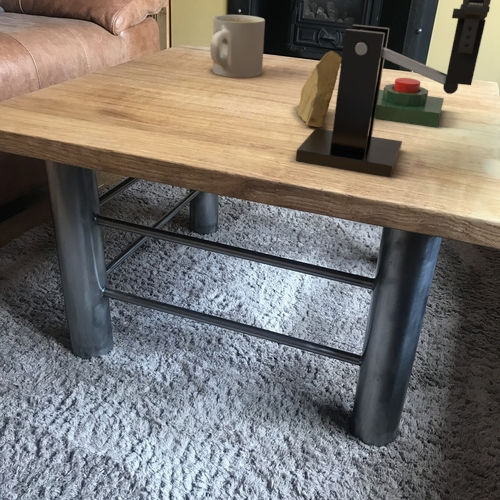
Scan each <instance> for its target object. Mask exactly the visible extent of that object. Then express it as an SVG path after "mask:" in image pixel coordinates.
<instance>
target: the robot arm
mask: <svg viewBox="0 0 500 500" xmlns="http://www.w3.org/2000/svg"><path fill="white" fill-rule="evenodd" d="M491 1H492V0H462V3H461V4H460V7H459V8H453V10H452V16H451V19H455V20H456V19H457V22H456V26H455V31H454V35H453V42H452V47H451V51H450V56H449V61H448V67H447V71H446V74H447V76H446V81H445V83H453V84H458V85H463V86H472V83H473V78H474V74H475V69H476V66H477V61H478V56H479V53H480V46H481V43H482V39H483V34H484V30H485V26H486V22H487V21H486V18H487V17H488V14H489V13H490V8H491V6H490V5H491Z"/></svg>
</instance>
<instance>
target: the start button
mask: <svg viewBox="0 0 500 500" xmlns="http://www.w3.org/2000/svg"><path fill="white" fill-rule="evenodd" d="M393 84H394V90H396V91H399V92H406V93H418V92H419V88H420V87H421V80H418V79H415V78H411V77H398V78H395V79H394V83H393Z"/></svg>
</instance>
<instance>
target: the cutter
mask: <svg viewBox="0 0 500 500" xmlns="http://www.w3.org/2000/svg"><path fill="white" fill-rule="evenodd" d="M389 34H390V27H385V26H384V27H383V26H374V25H373V26H372V25H363V24H352V25H351V28H346V29H345V31H344V38H343V45H342V54H341V63H340V68H339V78H338V84H337V85H338V86H337V92H336V93H337V94H336V101H335V108H334V109H335V110H334V116H333V117H334V118H333V125H332V129H326V128H319V127H315V128H314V130H313V131H311V133H310V134H309V135H308V136H307V138H306V139H305V140H304V141H303V142H302V143H301V144H300V145H299V147H298V148H297V149H296V153H295V161H296V162H300V163H306V164H312V165H317V166H323V167H329V168H336V169H340V170H347V171H353V172H359V173H364V174H369V175H376V176H381V177H387V178H391V176H392V174H393V171H394V169H395V166H396V163H397V160H398V158H399V155H400V153H401V149H402V145H403V141H402V140H397V139H391V138H384V137H377V136H373V133H374V126H375V121H376V118H375V115H376V109H377V103H378V96H379V90H381V84H382V77H383V71H384V66H385V65H384V64H385V59H383V58H381V54H382V47H385V48H388V47H387V46H388V41H389Z"/></svg>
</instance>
